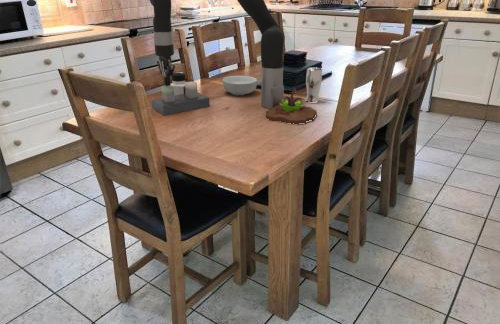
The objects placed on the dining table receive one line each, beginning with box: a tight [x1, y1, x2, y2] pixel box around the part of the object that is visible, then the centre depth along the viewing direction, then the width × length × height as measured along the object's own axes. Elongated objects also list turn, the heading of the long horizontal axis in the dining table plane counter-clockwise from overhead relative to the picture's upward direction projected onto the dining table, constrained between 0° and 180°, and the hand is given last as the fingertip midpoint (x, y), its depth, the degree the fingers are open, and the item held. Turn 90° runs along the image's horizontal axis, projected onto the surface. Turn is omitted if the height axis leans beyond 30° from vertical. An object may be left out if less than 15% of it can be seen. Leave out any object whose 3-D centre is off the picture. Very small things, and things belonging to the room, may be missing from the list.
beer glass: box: [305, 66, 323, 102], centre depth 183 cm, size 7×7×15 cm
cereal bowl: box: [222, 75, 258, 96], centre depth 197 cm, size 17×17×7 cm
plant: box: [265, 89, 317, 124], centre depth 165 cm, size 20×20×11 cm
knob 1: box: [160, 85, 175, 103], centre depth 172 cm, size 5×5×7 cm
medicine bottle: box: [170, 71, 187, 95], centre depth 188 cm, size 7×7×12 cm
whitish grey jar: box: [185, 81, 199, 99], centre depth 178 cm, size 5×5×7 cm
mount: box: [150, 92, 211, 116], centre depth 177 cm, size 12×22×4 cm, turn 125°
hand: (167, 85), depth 171 cm, fingers closed
